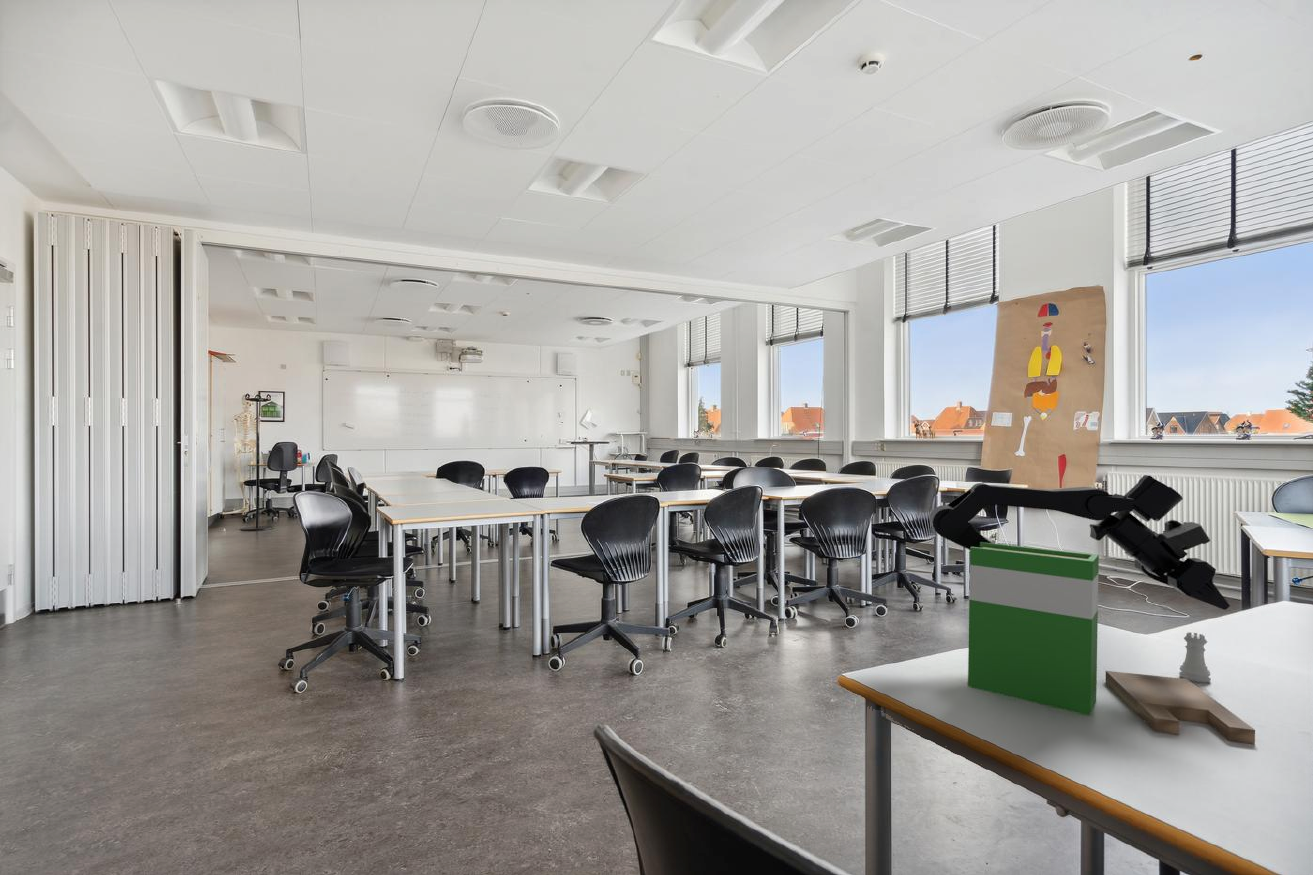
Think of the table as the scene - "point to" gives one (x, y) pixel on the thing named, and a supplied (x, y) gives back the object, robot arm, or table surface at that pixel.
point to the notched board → (1176, 705)
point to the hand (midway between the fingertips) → (1213, 601)
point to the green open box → (1034, 625)
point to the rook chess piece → (1195, 660)
